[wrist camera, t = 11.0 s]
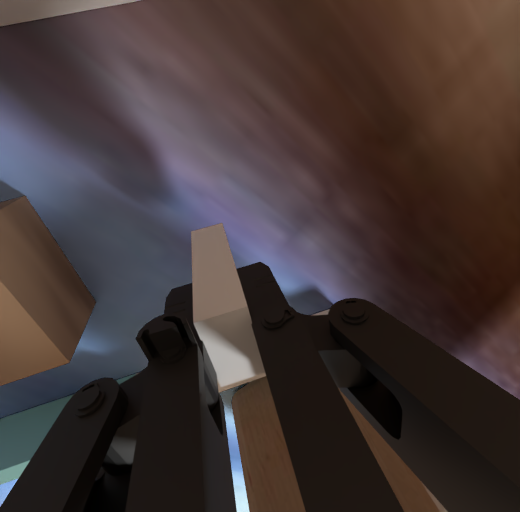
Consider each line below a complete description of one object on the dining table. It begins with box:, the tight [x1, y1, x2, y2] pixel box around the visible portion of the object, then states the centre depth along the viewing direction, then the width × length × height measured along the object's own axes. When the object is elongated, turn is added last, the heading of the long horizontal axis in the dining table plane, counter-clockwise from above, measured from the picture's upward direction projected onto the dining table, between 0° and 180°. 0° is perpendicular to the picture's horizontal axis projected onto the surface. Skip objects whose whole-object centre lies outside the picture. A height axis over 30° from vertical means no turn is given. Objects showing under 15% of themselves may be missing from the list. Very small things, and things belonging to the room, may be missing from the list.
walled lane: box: [0, 0, 330, 485], centre depth 14 cm, size 28×22×4 cm
